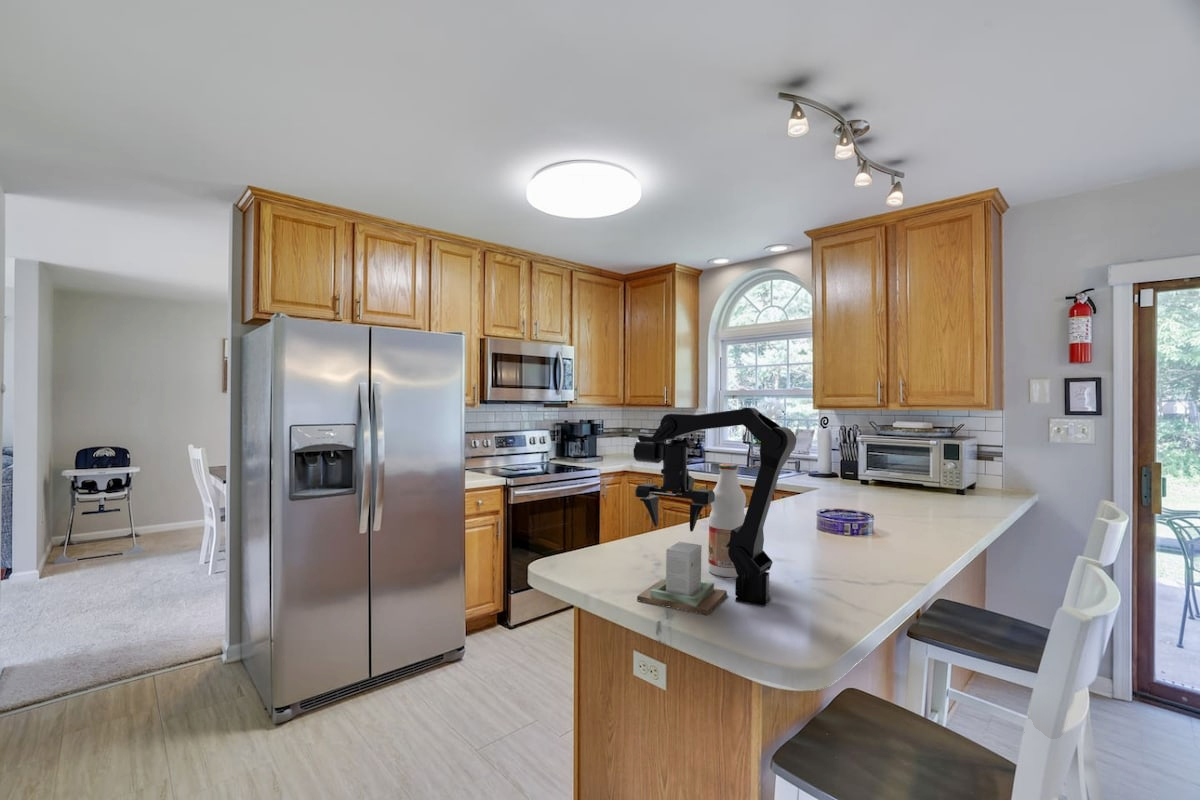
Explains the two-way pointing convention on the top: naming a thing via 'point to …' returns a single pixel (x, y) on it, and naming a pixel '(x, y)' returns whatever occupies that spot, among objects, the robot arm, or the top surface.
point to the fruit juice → (725, 520)
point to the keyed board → (684, 597)
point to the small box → (683, 568)
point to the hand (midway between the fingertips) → (673, 528)
